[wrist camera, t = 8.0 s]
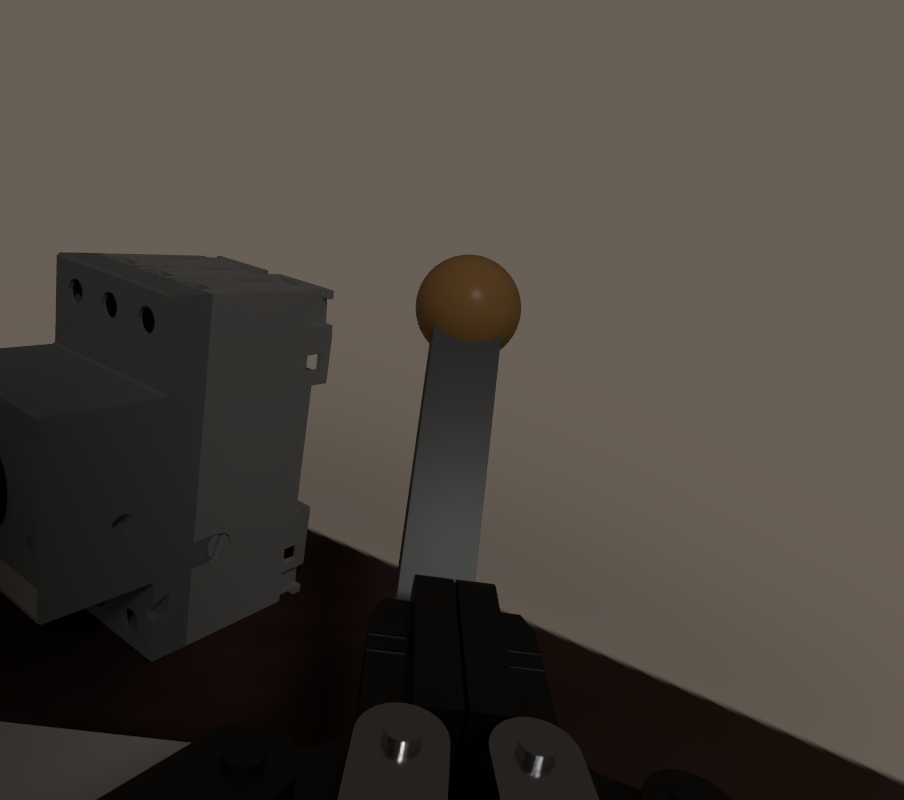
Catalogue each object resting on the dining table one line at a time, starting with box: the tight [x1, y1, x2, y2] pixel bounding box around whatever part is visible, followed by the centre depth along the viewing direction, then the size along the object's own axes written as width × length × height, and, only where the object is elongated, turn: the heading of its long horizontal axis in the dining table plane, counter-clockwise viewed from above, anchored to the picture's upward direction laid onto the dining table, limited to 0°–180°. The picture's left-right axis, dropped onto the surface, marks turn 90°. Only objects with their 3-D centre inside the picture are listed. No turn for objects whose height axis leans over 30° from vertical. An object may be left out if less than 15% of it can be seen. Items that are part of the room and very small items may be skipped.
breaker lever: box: [394, 255, 521, 601], centre depth 16 cm, size 3×3×15 cm
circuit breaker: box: [0, 252, 334, 662], centre depth 30 cm, size 8×14×15 cm, turn 145°
